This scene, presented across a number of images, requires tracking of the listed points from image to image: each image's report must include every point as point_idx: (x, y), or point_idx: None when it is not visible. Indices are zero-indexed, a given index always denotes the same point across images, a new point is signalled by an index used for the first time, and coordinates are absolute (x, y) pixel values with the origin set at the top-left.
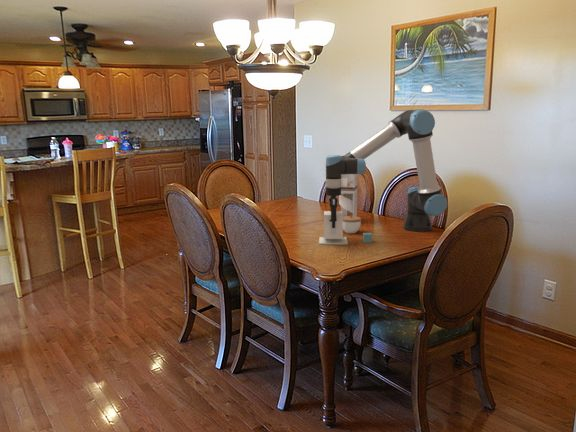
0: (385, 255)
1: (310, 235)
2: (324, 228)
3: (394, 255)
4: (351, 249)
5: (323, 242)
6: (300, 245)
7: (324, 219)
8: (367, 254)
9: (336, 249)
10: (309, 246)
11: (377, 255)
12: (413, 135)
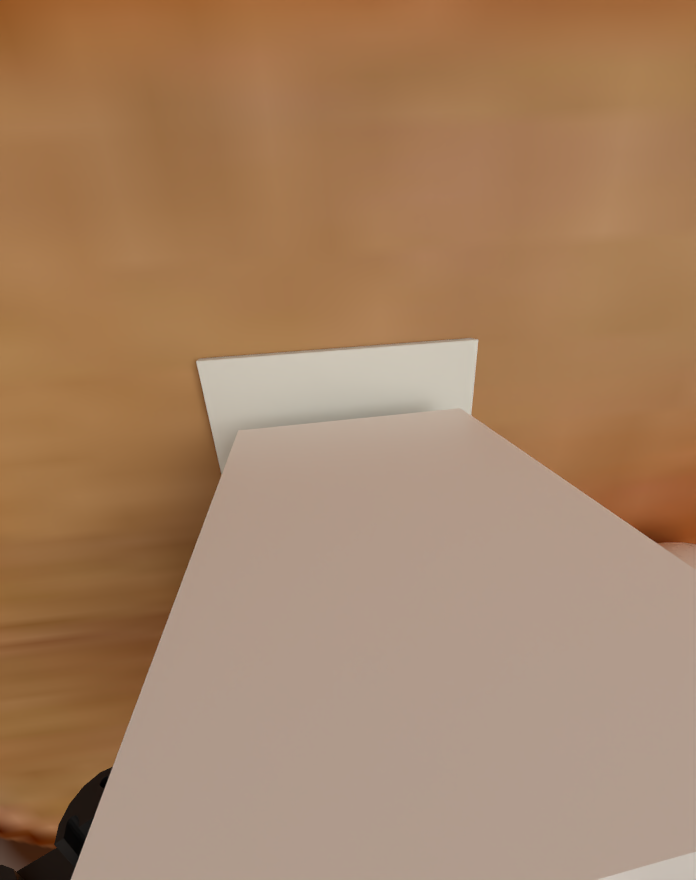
0: (31, 807)
1: (604, 217)
2: (209, 512)
3: (54, 833)
4: (106, 641)
5: (243, 407)
6: (78, 65)
7: (142, 708)
8: (3, 738)
9: (56, 542)
10: (70, 232)
11: (8, 780)
12: None
